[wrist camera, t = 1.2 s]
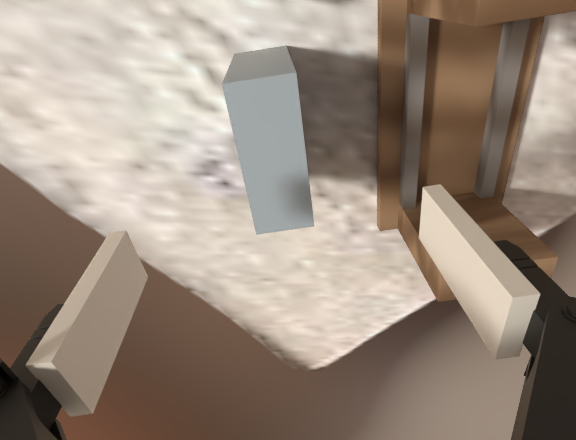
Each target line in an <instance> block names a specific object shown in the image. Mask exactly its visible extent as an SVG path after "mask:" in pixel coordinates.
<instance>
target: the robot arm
mask: <svg viewBox="0 0 576 440" xmlns="http://www.w3.org/2000/svg"><path fill="white" fill-rule="evenodd" d="M419 239H420V241H421V242H422V244H423V246H424V247H425V249H426V250H427V252H428V253H429V255H430V257H431V258H432V260H433V261H434V263H435V265H436V266H437V268H438V269H439V271H440V273H441V274H442V276H443V277H444V279H445V281H446V282H447V284H448V285H449V287H450V289H451V290H452V292H453V293H454V295H455V297H456V298H457V300H458V301H459V303H460V305H461V306H462V308H463V309H464V311H465V312H466V314H467V316H468V317H469V318H470V320H471V322H472V324H473V325H474V327H475V328H476V330H477V332H478V333H479V335H480V336H481V338H482V340H483V341H484V343H485V344H486V346H487V347H488V349H489V351H490V352H491V354H492V356H493V357H494V359H501V358H509V357H517V356H519V355H520V352H521V349H522V346H523V344H524V345H525V347H526V348H527V349H528V351H529V352H530V353H531V357H530V360H529V363H528V365H527V368H526V371H525V373H524V376H526V377H525V381H524V385H523V390H522V394H521V398H520V403H519V407H518V411H517V416H516V420H515V424H514V428H513V433H512V437H511V440H576V298H574V297H569V296H568V295H567V294H566V293H565V292H564V291H563V290H562V289H561V288H560V287H559V286H558V285H557V284H556V283H555V282H554V281H553V280H552V279H551V278H550V277H549V276H548V275H547V274H546V273H545V272H544V271H543V270H542V269H541V268H540V267H538V265H537V264H536V263H535V262H534V261H533V260H532V259H530V257H529V256H528V255H527V254H526V253H525V252H524V251H523V250H522V249H521V248H520V247H518V246H516V245H515V244H513V243H511V242H509V241H507V240H500V241H492V240H491V239H490V238H489V237H488V236H487V235H486V234H485V232H484V231H483V230H482V229H481V228H480V227H479V226H478V225H477V224H476V223H475V222H474V220H473V219H472V218H471V217H470V216H469V215H468V214H467V213H466V212H465V211H464V209H463V208H462V207H461V206H460V205H459V204H458V203H457V202H456V201H455V200H454V199H453V197H452V196H451V195H450V194H449V193H448V192H447V191H446V190H445V189H444V188H443V186H442V185H441V184H439V185H432V186H426V187H423V191H422V204H421V216H420V229H419ZM147 278H148V277H147V274H146V272H145V270H144V268H143V266H142V264H141V261H140V259H139V257H138V255H137V253H136V250H135V248H134V246H133V244H132V242H131V240H130V238H129V236H128V233H127V231H121V232H114V233H109V234H108V236H107V238H106V239H105V241H104V242H103V244H102V245H101V247H100V249H99V250H98V252H97V253H96V255H95V256H94V258H93V260H92V261H91V263H90V265H89V266H88V267H87V269H86V271H85V272H84V274H83V275H82V277H81V278H80V280H79V282H78V283H77V285H76V286H75V288H74V289H73V291H72V293H71V294H70V296H69V297H68V299H67V301H66V302H65V304H58V305H57V306H56V307H54V308H53V309H52V310H51V311H50V312H49V313H48V314H47V315H46V316H45V317H44V318H43V320H42V321H41V323H40V325H39V326H38V328H37V330H36V331H35V332H34V333H33V335H32V336H31V340H29V341H28V342H27V344H26V345H25V347H24V348H23V350H22V351H21V353H20V354H19V356H18V357H17V359H16V360H15V362H14V363H13V365H12V366H11V368H9V367H8V366H7V365H6V364H5V363H4V362H3V361H2V359H1V358H0V440H67V439H66V436H65V434H64V431H63V429H62V426H61V424H60V422H59V421H58V420H57V419H56V417H57V415H58V413H59V411H60V409H61V407H62V408H63V409H64V410H65V411H66V412H67V414H68V415H69V416H77V415H85V414H92V413H93V412H94V409H95V407H96V404H97V401H98V399H99V397H100V394H101V392H102V389H103V387H104V384H105V382H106V380H107V377H108V374H109V372H110V370H111V367H112V365H113V362H114V360H115V357H116V355H117V352H118V350H119V347H120V345H121V342H122V340H123V338H124V335H125V333H126V330H127V328H128V325H129V323H130V320H131V318H132V315H133V313H134V310H135V308H136V305H137V303H138V300H139V298H140V295H141V293H142V290H143V288H144V286H145V283H146V281H147Z"/></svg>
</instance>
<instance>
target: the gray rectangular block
mask: <svg viewBox="0 0 576 440" xmlns="http://www.w3.org/2000/svg"><path fill="white" fill-rule="evenodd" d="M222 86H223V91H224V95H225V99H226V104H227V108H228V112H229V117H230V121H231V126H232V130H233V134H234V139H235V143H236V147H237V152H238V156H239V160H240V165H241V169H242V173H243V178H244V182H245V187H246V191H247V195H248V200H249V204H250V208H251V213H252V217H253V221H254V226H255V230H256V234H264V233H271V232H278V231H285V230H292V229H299V228H306V227H312V226H314V219H313V211H312V202H311V194H310V185H309V176H308V168H307V159H306V151H305V142H304V133H303V125H302V116H301V108H300V99H299V90H298V82H297V73H296V70H295V67H294V65H293V62H292V60H291V57H290V54H289V52H288V49H287V46H281V47H275V48H269V49H262V50H256V51H250V52H243V53H237V54H234V56H233V59H232V61H231V64H230V66H229V68H228V71H227V73H226V76H225V78H224V80H223V83H222Z"/></svg>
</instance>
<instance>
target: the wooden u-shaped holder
mask: <svg viewBox="0 0 576 440" xmlns="http://www.w3.org/2000/svg"><path fill="white" fill-rule="evenodd" d="M572 11H576V0H378V162H377V226H378V228H379V230H380V231H383V230H390V229H397V228H398V230H399V232H400V233H401V235H402V237H403V239H404V241H405V243H406V244H407V246H408V248H409V250H410V252H411V253H412V255H413V257H414V259H415V261H416V262H417V264H418V266H419V268H420V270H421V272H422V273H423V275H424V277H425V279H426V281H427V282H428V284H429V286H430V288H431V290H432V292H433V293H434V295H435V297H436V299H437V300H438V302H439V301H447V300H454V299H457V298H456V297H455V295H454V293H453V292H452V290H451V289H450V287H449V285H448V284H447V282H446V281H445V279H444V277H443V276H442V274H441V273H440V271H439V269H438V268H437V266H436V265H435V263H434V261H433V260H432V258H431V257H430V255H429V253H428V252H427V250H426V249H425V247H424V246H423V244H422V242H421V241H420V239H419V229H420V216H421V204H422V191H423V187H426V186H432V185H439V184H441V185H442V186H443V188H444V189H445V190H446V191H447V192H448V193H449V194H450V195H451V196H452V197H453V199H454V200H455V201H456V202H457V203H458V204H459V205H460V206H461V207H462V208H463V209H464V211H465V212H466V213H467V214H468V215H469V216H470V217H471V218H472V219H473V220H474V222H475V223H476V224H477V225H478V226H479V227H480V228H481V229H482V230H483V231H484V232H485V234H486V235H487V236H488V237H489V238H490V239H491V240H492V241H500V240H507V241H509V242H511V243H513V244H515V245H516V246H518V247H520V248H521V249H522V250H523V251H524V252H525V253H526V254H527V255H528V256H529V257H530V259H532V260H533V261H534V262H535V263H536V264H537V265H538V267H540V268H541V269H542V270H543V271H544V272H545V273H546V274H547V275H548V276H549V277H550V278H551V276H552V273H553V270H554V268H555V265H556V262H557V260H558V256H557V255H556V254H555V253H554V252H553V251H552V250H551V249H550V248H548V247H547V246H546V245H545V244H544V243H543V242H542V241H541V240H540V239H539V238H538V237H537V236H535V235H534V234H533V233H532V232H531V231H530V230H529V229H528V228H527V227H526V226H525V225H524V224H522V223H521V222H520V221H519V220H518V219H517V218H516V217H515V216H514V215H513V214H512V213H511V212H509V211H508V210H507V209H506V208H505V207H504V206H503V205H502V200H503V196H504V191H505V187H506V183H507V178H508V174H509V170H510V165H511V161H512V157H513V152H514V148H515V143H516V139H517V135H518V130H519V126H520V122H521V117H522V113H523V109H524V104H525V100H526V95H527V91H528V87H529V82H530V78H531V74H532V69H533V65H534V61H535V56H536V52H537V48H538V43H539V39H540V34H541V30H542V26H543V21H544V17H545V16H547V15H553V14H560V13H566V12H572Z"/></svg>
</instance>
